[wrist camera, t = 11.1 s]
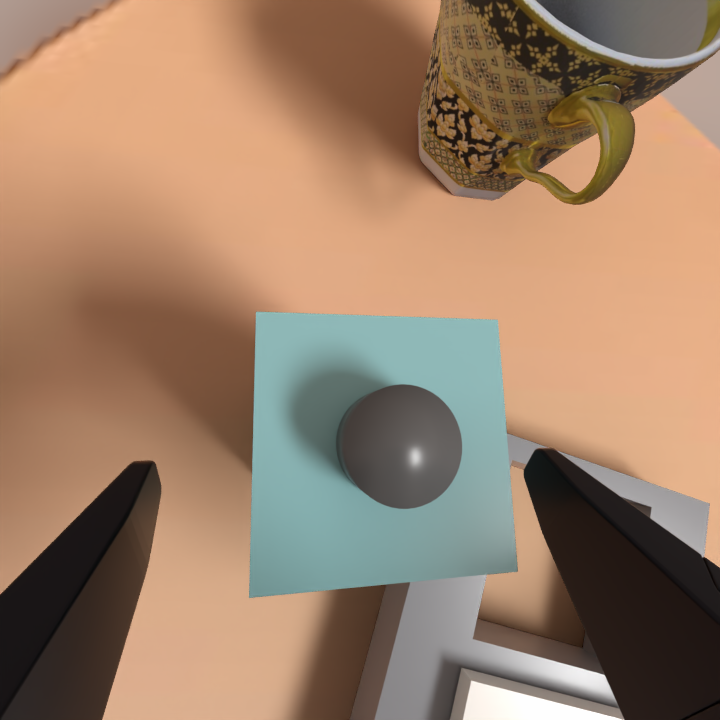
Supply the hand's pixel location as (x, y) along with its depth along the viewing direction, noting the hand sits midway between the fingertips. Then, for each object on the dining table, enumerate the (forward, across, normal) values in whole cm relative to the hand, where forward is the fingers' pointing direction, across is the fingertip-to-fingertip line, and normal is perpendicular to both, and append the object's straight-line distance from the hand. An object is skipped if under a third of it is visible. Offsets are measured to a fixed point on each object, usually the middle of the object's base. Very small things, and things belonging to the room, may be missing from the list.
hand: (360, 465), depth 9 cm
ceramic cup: (+17, -8, -4) cm, 19 cm away
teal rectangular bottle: (+7, 0, +6) cm, 9 cm away
